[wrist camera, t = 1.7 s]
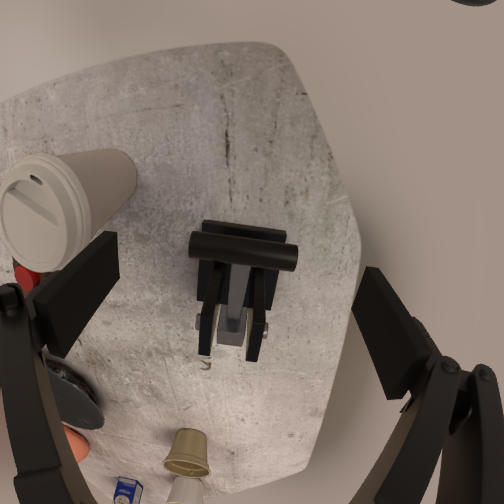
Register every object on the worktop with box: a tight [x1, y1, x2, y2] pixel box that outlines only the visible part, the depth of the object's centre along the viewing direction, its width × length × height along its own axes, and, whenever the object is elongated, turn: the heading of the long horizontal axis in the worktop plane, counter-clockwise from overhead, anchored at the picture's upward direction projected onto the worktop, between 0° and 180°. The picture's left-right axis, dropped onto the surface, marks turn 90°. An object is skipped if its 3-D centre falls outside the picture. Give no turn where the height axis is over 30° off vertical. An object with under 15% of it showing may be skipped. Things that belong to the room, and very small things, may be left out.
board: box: [45, 359, 105, 430], centre depth 45 cm, size 22×22×5 cm
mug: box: [166, 476, 204, 504], centre depth 60 cm, size 14×10×10 cm
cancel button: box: [15, 264, 40, 291], centre depth 31 cm, size 4×4×2 cm
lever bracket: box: [195, 220, 287, 362], centre depth 29 cm, size 10×9×13 cm
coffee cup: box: [0, 149, 137, 273], centre depth 23 cm, size 10×10×15 cm
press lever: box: [188, 231, 298, 347], centre depth 21 cm, size 12×6×2 cm, turn 172°
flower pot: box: [162, 429, 211, 478], centre depth 48 cm, size 9×9×9 cm
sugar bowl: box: [64, 426, 90, 463], centre depth 54 cm, size 12×14×10 cm
